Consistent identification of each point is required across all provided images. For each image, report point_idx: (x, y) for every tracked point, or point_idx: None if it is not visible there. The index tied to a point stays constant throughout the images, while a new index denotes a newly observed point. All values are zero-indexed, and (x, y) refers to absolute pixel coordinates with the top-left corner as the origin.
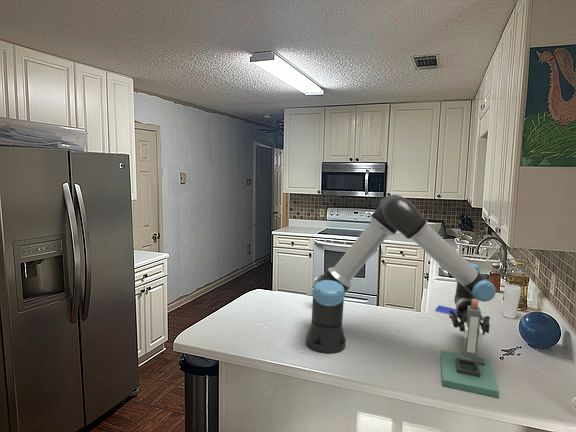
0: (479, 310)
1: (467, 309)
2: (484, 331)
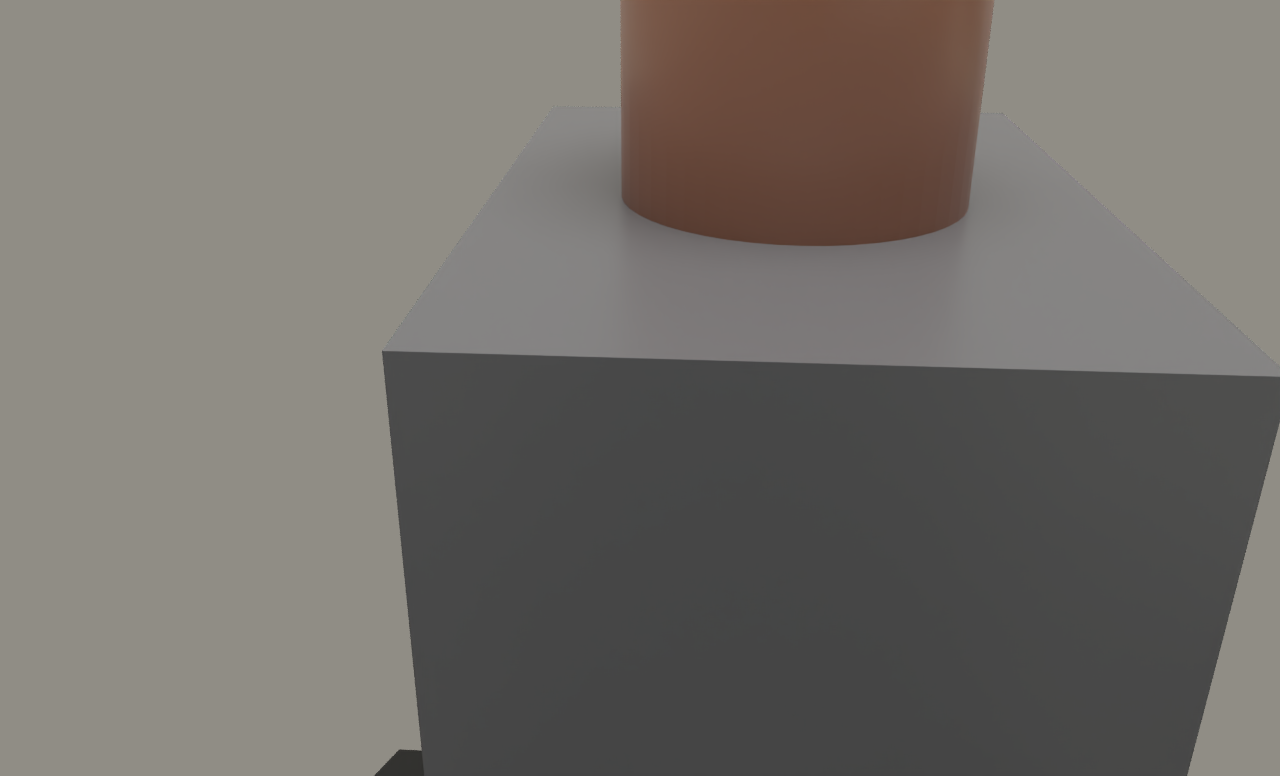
0: (576, 140)
1: (1187, 634)
2: (404, 757)
